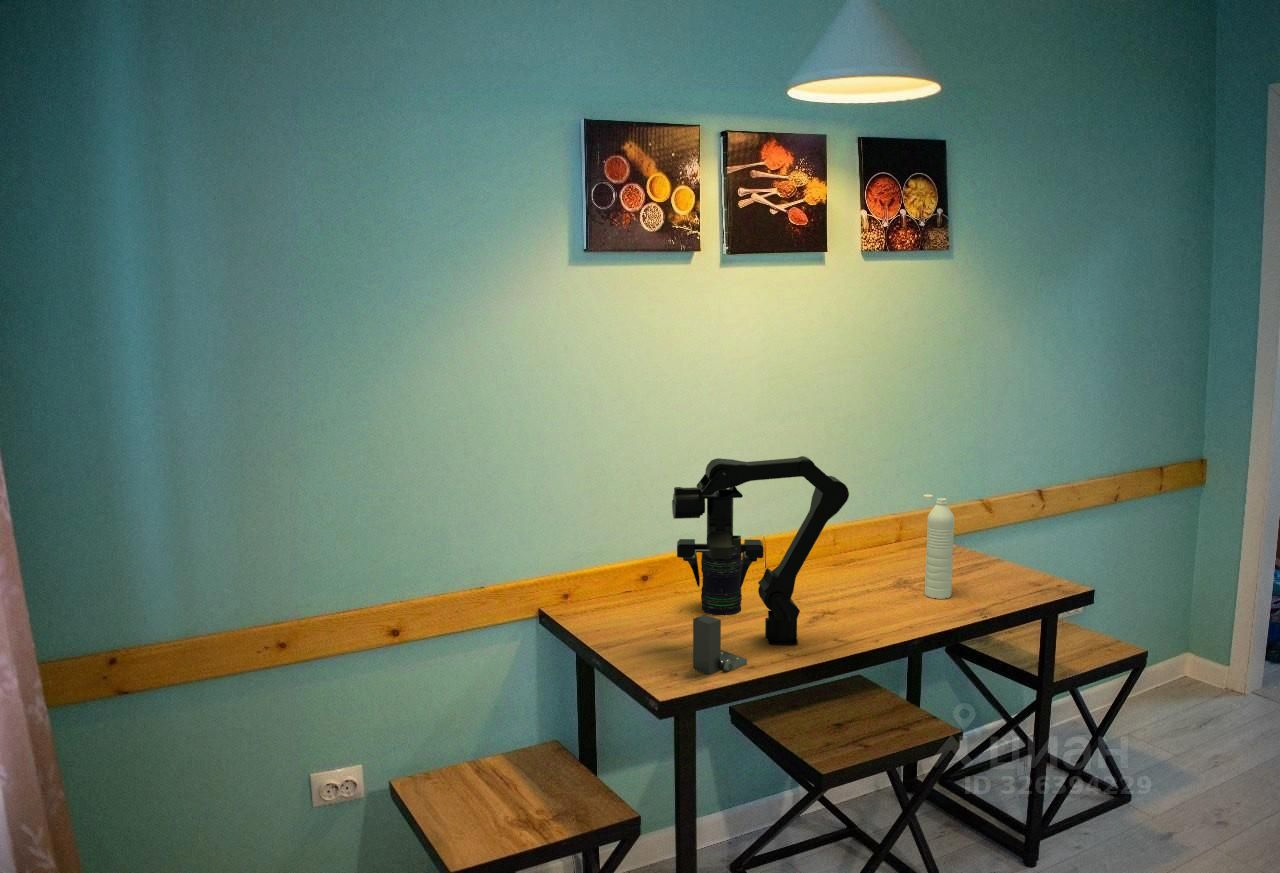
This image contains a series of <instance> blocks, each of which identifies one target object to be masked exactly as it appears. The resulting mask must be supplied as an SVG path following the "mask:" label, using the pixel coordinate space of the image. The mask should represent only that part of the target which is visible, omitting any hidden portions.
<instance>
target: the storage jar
mask: <svg viewBox="0 0 1280 873" xmlns="http://www.w3.org/2000/svg"><path fill="white" fill-rule="evenodd" d="M742 555H743V553H732V558H731V559H711V558H710V557H709V553H706V552H701V561H700V564H701V567H700V568H701V573H702V586H701V594H700V600H701V611H702V610H703V611H704V612H703V611H702V612H703V613H704V614H707V613H708V614H707V615H710V614H712V615H711V616H716V615H724V616H723V617H725V615H729V616H733V615H734V616H735V615H737V614H739V613H741V611H742V600H743V595H742V587H740V571H741V563H742Z"/></svg>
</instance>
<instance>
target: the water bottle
mask: <svg viewBox="0 0 1280 873" xmlns="http://www.w3.org/2000/svg"><path fill="white" fill-rule="evenodd" d="M922 499H923V500H924V501H925V500H926V501H932V500H934V495H933V494H923V496H922ZM935 503H936V504H935V505H934V507H933V508H932V509H931V511H930V512H929V513H928V515H927V528H926V529H927V530H926V531H927V532H926V533H927V534H926V550H925V551H926V556H925V562H926V563H925V573H924V574H925V579H924V581H925V582H924V583H925V585H924V595H925V596H926V597H927V598H931V599H934V598H936V599H937V600H944V599H946V598H947V599H949V598H951V597H952V591H953V590H952V584H953V579H952V578H953V563H954V562H953V561H954V557H953V556H954V537H955V536H954V535H955V534H954V533H955V528H954V527H955V516H954V514H953V512H952V510H951V509H950V507H949V506H948V502H947V498H944V497H938V498H936V501H935Z"/></svg>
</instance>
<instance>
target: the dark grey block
mask: <svg viewBox="0 0 1280 873" xmlns="http://www.w3.org/2000/svg"><path fill="white" fill-rule="evenodd" d="M721 621H722V620H721V619H720V618H717V617H713V616H711V615H708V614H707V615H706V614H703V615H699V616H697V617H694V618H692V670H693V669H695V670H694V671H696V670H697V672H699V671H700V672H699V673H702V672H703V673H702V674H705V675H706V676H710V675H714V674H717V673H718V672H721V670H722V668H721V650H722V648H721V645H722V643H721V642H722V641H721V640H722V639H721V638H722V636H721V635H722V634H721V632H722V631H721V630H722V627H721V626H722V624H721V623H722V622H721ZM713 673H714V674H713Z"/></svg>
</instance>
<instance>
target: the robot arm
mask: <svg viewBox="0 0 1280 873" xmlns="http://www.w3.org/2000/svg"><path fill="white" fill-rule="evenodd" d="M799 477H803V478H804V479H805V480H807V482H809V484H811V485H812V486H814V490H813V493H812V496H811V501H810V508H809V509H808V510H809V511H808V513H807V514H806V516H805V517H804V520H803V521H802V523H801V525H800V527H799V528H798V530H797V533H796V534H795V536H794V537H793V539H792V541H791V543H790V544H789V546H788V548H787V550H786V552H785V554H784V555H783V556H782V559H781V560H780V563H779V564H778V566H776V567H775V568H774V569H773V570H771V569H770V568H769V567H766V569H765V571H764V574H763V575H762V578H760V580H759V581H758V582H757V584H758V589H757V590H758V591H757V592H758V595H759V598H760V600H761V601H762V602H763V604H764V605H765V607H766V609H768V611H767V617H765V619H764V624H765V625H764V637H765V639H766V640H767V644H769V645H784V646H785V645H786V646H787V645H788V646H789V645H790V646H791V645H792V646H793V645H794V646H796V645H799V641H798V617H799V614H800V613H801V610H800V609H799V607H798V606H797V605H796V603H795V602H794V600H793V599H792V596H793V594H794V591H795V590H794V589H795V585H796V578H797V576H798V575H799V573H800V571H801V568H802V567H803V565H804V564H805V562H806V560H807V558H808V557H809V554H810V552H811V551H812V549H813V547H814V545H815V544H816V542H817V540H818V539H819V537H820V535H821V533H822V532H823V530H824V527H825V526H826V524H827V523H828V522H829V520H830V519H832V518H833V517H834V516H835V515H837V514H838V513H839V512H840V510H842V508H843V507H844V506H845V504H846V503H847V502H848V500H849V496H850V492H849V488H848V486H847V485H846V483H843V482H842V481H840V480H839V479H838V478H836V476H833V475H827V474H826V473H825V472H824V471H822V470H821V469H820V468H819V467H818V466H817V465H816V464H815V463H814V461H813V460H811V459H810V458H809V457H808V456H804V455H801V456H798V457H791V458H790V457H789V458H777V459H767V460H766V459H764V460H755V461H754V460H753V461H744V460H743V461H742V460H737V459H730V458H721V457H720V458H718V457H717V458H714V459H711V460H710V461H709V463H708V464H707V465H706V467H705V474H703V476H702V477H701V479H700V480H699V481H698V483H697V484H696V486H695V487H682V486H674V488H673V495H672V501H671V505H672V507H671V509H672V518H673V519H674V520H676V519H678V520H679V519H680V520H681V519H683V520H684V519H700V518H701V516H703V515H704V514H705V512H706V543H696V539H695V538H679V539H678V540H677V541H676V543H677V544H676V557H677V558H681V559H682V560H683V561H684V562H687V563H688V564H689V566H690V568H691V570H692V573H693V576H694V579H695V581H696V585H697V587H699V588H700V587H701V586H700V584H701V582H700V580H701V579H700V570H699V564H698V563H699V562H698V556H697V553H702V552H706V553H709V557H710V558H711V559H731V558H732V553H742V554H741V556H742V563H741V571H740V587H741V588H742V587H743V584H744V582H745V579H746V575H747V573H748V570H749V568H750V566H751V565H752V564H753V562H755V563H756V562H757V561H758V559H763V558H764V544H763V541H761V539H744V540H743V541H744V543H742V535H734V499H737V498H739V499H740V498H743V494H742V492H741V491H739V490H738V488H737V487H739V486H741V485H743V484H745V483H748V482H753V481H754V482H755V481H766V480H776V479H786V478H787V479H788V478H799Z"/></svg>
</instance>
